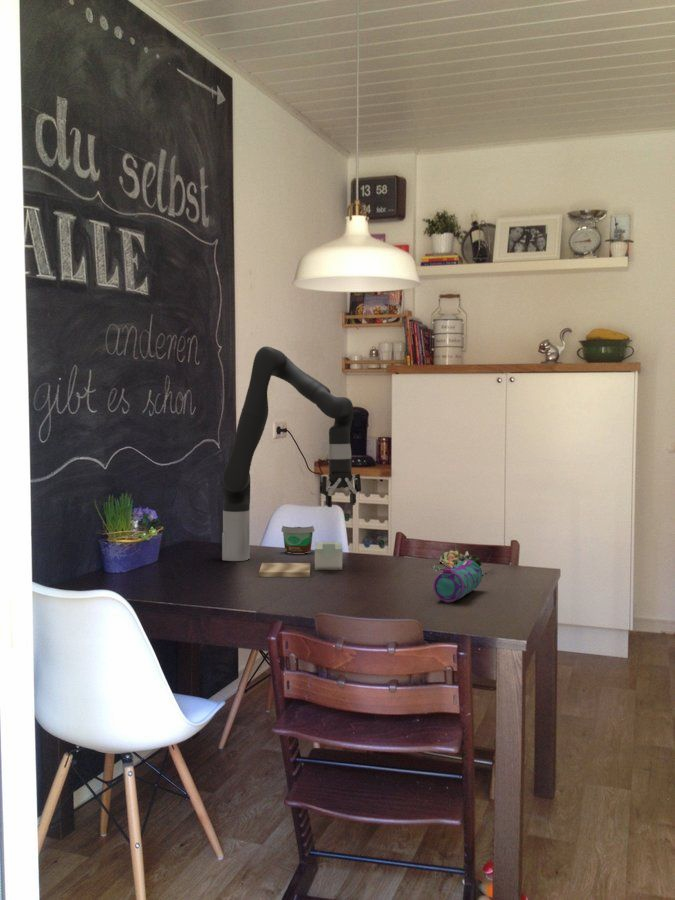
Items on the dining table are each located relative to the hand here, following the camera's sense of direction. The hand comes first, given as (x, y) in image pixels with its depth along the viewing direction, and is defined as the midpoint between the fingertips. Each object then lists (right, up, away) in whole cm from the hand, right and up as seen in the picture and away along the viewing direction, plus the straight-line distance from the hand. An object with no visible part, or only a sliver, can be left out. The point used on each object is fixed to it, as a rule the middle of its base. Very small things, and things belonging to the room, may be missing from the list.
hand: (340, 506), depth 282 cm
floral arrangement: (+39, -22, +2) cm, 45 cm away
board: (-18, -21, -8) cm, 29 cm away
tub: (-4, -20, +2) cm, 21 cm away
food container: (-16, -19, +27) cm, 37 cm away
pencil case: (+33, -23, -42) cm, 58 cm away
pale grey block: (-4, -15, -2) cm, 15 cm away
